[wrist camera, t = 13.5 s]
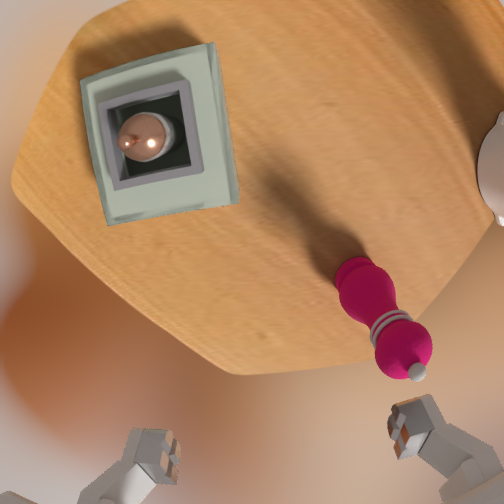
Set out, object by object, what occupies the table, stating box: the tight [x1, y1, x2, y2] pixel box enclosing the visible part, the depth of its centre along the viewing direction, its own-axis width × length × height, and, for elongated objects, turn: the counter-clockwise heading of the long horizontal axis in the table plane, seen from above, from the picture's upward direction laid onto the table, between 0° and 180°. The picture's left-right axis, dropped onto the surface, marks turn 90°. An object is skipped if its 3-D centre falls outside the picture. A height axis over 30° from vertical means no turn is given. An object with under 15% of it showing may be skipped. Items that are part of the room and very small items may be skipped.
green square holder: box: [80, 42, 240, 226], centre depth 29 cm, size 14×16×9 cm
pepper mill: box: [335, 257, 432, 381], centre depth 32 cm, size 7×7×20 cm
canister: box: [117, 112, 185, 162], centre depth 27 cm, size 4×4×12 cm
